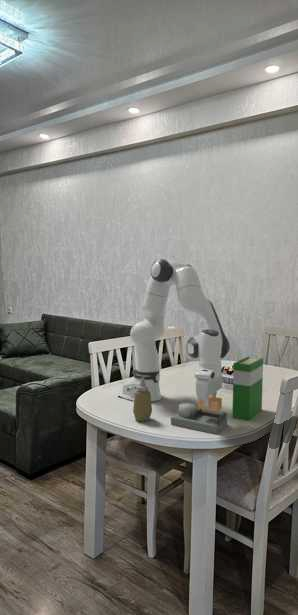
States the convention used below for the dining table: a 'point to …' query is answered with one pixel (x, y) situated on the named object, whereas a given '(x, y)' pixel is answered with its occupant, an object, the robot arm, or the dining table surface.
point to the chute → (211, 404)
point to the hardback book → (247, 388)
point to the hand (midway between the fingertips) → (210, 404)
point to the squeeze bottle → (142, 402)
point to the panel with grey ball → (199, 419)
